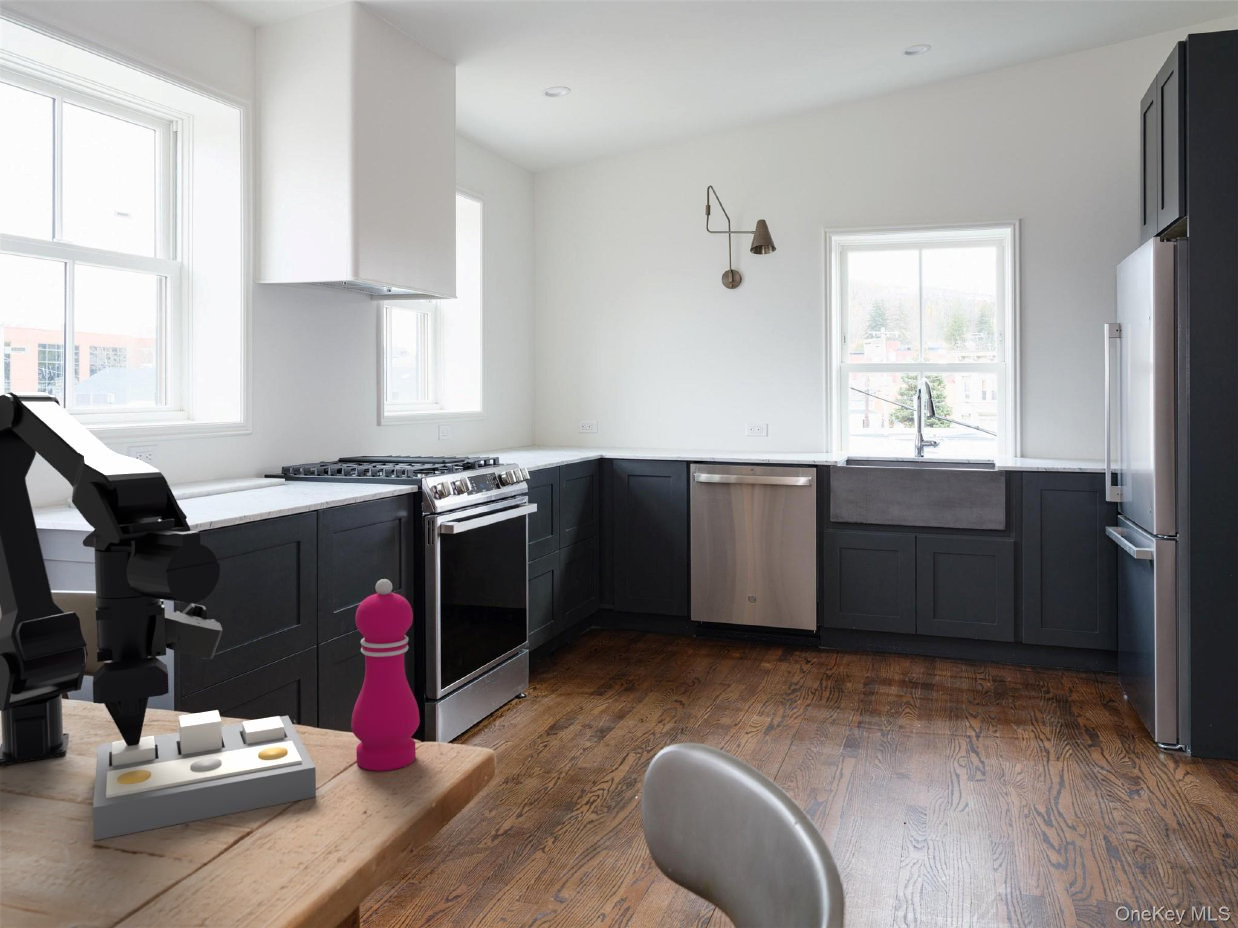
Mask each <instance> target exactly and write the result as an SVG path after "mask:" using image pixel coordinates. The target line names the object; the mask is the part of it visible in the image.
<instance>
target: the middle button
mask: <svg viewBox="0 0 1238 928" xmlns="http://www.w3.org/2000/svg"><path fill="white" fill-rule="evenodd" d="M221 726H222V719H221V715H220V712H219V710H218V709H216V710H210V711H203V712H197V713H190V714H182V715H179V716H178V731H179V739H180V750H181V755H183V754H189V753H195V752H202V751H208V750H214V749H220V748H222V731H221Z"/></svg>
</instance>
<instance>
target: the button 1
mask: <svg viewBox="0 0 1238 928" xmlns="http://www.w3.org/2000/svg"><path fill="white" fill-rule="evenodd" d="M154 736H155V735H148V736H141V738H140V742H139V744H137V745H132V746H128V745H127V744H126V743H125V741H124V739H122V740H116V741H112V742H111V743H112V766H117V765H123V764H129V763H135V762H141V761H147V760H153V759H155V742H154Z"/></svg>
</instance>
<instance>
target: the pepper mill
mask: <svg viewBox="0 0 1238 928" xmlns="http://www.w3.org/2000/svg"><path fill="white" fill-rule="evenodd" d="M375 591H376V593H374V594H371V595H368V596H367V597H365V598H364V599H363V600H362V601H361V602H360V604H359V605H358V606H357V609H356V613H355V619H354V620H355V625H356V628H357V629H358V632H360V633H361V635H362V636H363V638H361V640H360V645H361V648H360V653H362V654H363V655H364V659H365V673H364V675H365V676H364V680H363V685H362V687H361V690H360V692H359V694H358V697H357V699H356V702H355V704H354V708H353V711H352V715H351V725H350V726H351V731H352V734H354V736H355V738H356V739H358V740H359V743H358V744H357V746H356V750H355V751H356V765H358V767H360V768H361V769H364V770H368V771H374V772H385V771H394V770H397V769H401V768H404V767H406V766H409V765H410V764H412V763H413V762H414V761H415V759H416V741H415V739H413V738H412V736H413V735H414V734H415V732H416V731H417V730H418V727H419V725H420V722H421V720H420V710H419V707H418V703H417V700H416V698H415V696H414V693H413V691H412V689H411V687H410V683H409V682H408V679H407V675H406V671H405V670H406V669H405V653H406V652H407V651H408V650H409V645H408V642H409V637H408V636H407V635H406V633H407V632H408V630H409V629H410V628H411V626H412V624H413V620H414V618H413V617H414V614H413V613H414V612H413V609H412V606H411V604H410V603H409V601H408V600H407V599H406V598H405V597H404V596H402V595H400V594H398V593H394V592H392V591H393V584H392V582H391V581H390V580H389V579H387V578H384V579H380V580H379V579H378V581H377V582H376V584H375Z"/></svg>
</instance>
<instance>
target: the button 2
mask: <svg viewBox="0 0 1238 928" xmlns="http://www.w3.org/2000/svg"><path fill="white" fill-rule="evenodd" d="M280 717H281V716H280V715H277V716H270V717H264V718H258V719H251V720H246V721H241V723H242V734H243V743H244V744H250V743H256V742H262V741H268V740H274V739H280V738H284V725H283V723H282V721H281V719H280Z"/></svg>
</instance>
